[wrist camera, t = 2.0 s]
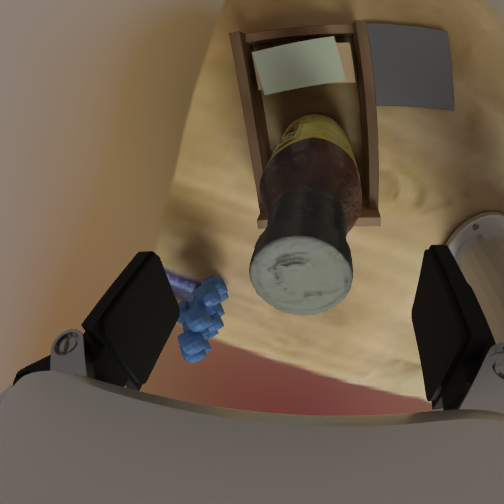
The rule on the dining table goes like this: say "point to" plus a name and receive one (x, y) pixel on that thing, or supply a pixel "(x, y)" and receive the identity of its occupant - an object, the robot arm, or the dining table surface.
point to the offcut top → (299, 65)
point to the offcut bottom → (345, 59)
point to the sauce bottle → (307, 218)
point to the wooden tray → (256, 116)
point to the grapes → (201, 318)
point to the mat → (411, 66)
